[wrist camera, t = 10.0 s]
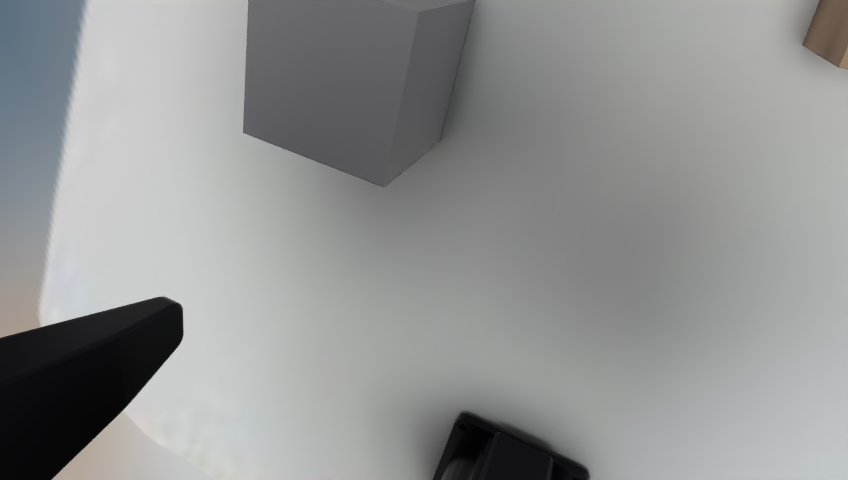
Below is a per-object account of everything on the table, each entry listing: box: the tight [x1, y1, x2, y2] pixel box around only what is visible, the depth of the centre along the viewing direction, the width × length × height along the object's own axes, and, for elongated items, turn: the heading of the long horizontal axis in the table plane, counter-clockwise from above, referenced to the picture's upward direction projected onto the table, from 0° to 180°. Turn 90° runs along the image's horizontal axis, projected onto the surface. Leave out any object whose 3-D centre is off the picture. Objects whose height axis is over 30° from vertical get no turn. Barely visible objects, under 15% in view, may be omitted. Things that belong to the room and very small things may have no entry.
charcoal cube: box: [243, 0, 475, 187], centre depth 17 cm, size 5×5×5 cm
